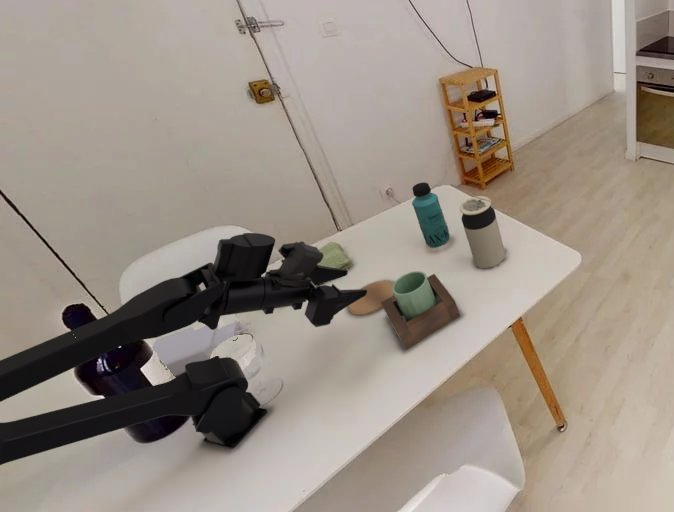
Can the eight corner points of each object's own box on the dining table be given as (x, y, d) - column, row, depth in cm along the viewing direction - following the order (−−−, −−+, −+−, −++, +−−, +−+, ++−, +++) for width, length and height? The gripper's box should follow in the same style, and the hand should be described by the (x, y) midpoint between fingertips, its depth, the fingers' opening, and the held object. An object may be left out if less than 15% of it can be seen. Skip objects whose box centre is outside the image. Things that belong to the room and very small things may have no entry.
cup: (428, 331, 91) (413, 296, 85) (401, 327, 92) (384, 293, 86) (445, 306, 96) (433, 272, 91) (420, 302, 98) (406, 269, 92)
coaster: (376, 317, 94) (375, 316, 94) (338, 312, 96) (338, 310, 96) (404, 284, 103) (404, 283, 102) (370, 280, 104) (369, 278, 104)
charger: (251, 348, 88) (155, 386, 81) (257, 318, 95) (169, 351, 88) (240, 333, 86) (140, 372, 79) (247, 304, 93) (156, 337, 86)
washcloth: (262, 283, 104) (256, 274, 103) (340, 246, 116) (335, 237, 114) (275, 310, 97) (268, 301, 95) (356, 267, 108) (352, 258, 107)
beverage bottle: (422, 249, 114) (399, 191, 104) (438, 234, 119) (419, 177, 109) (441, 254, 112) (420, 194, 102) (457, 238, 117) (439, 180, 108)
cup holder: (405, 350, 87) (398, 334, 84) (387, 317, 94) (380, 302, 92) (460, 315, 94) (455, 301, 92) (439, 287, 101) (434, 273, 99)
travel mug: (488, 273, 105) (472, 218, 97) (468, 261, 109) (451, 208, 100) (511, 254, 111) (498, 200, 102) (491, 244, 115) (477, 191, 106)
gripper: (290, 273, 66) (389, 264, 79) (255, 230, 76) (348, 228, 89) (270, 337, 66) (372, 318, 79) (238, 286, 76) (333, 276, 89)
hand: (356, 282), depth 84 cm, fingers open, 9 cm apart
